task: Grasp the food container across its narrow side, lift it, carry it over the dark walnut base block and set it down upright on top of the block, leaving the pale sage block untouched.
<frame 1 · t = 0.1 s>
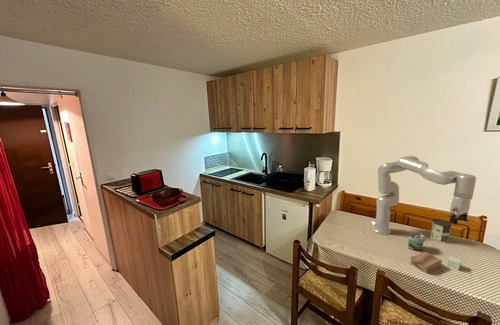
hand: (457, 221, 117), 31 cm above the table, fingers open, 9 cm apart
food container: (417, 249, 140), on the table
coffee can: (438, 238, 151), on the table
sage block: (453, 266, 123), on the table
walnut block: (425, 265, 124), on the table
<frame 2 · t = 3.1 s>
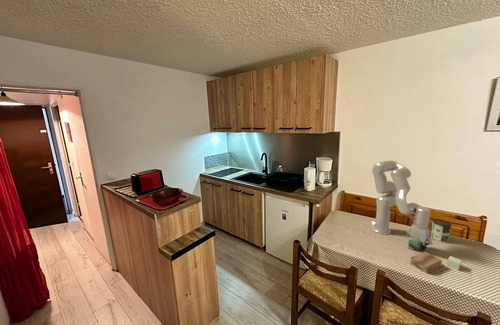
hand: (417, 246, 139), 2 cm above the table, fingers open, 6 cm apart
food container: (417, 249, 140), on the table, touching gripper
everything else where it was.
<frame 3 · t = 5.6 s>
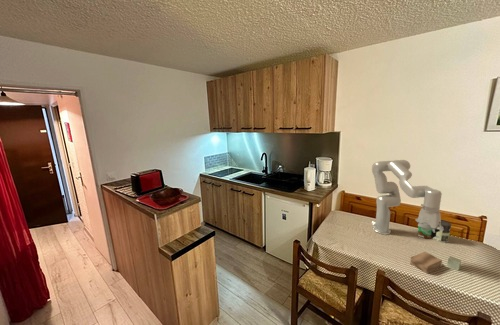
hand: (427, 234, 125), 19 cm above the table, fingers closed on food container, 5 cm apart
food container: (428, 237, 125), point 17 cm above the table, touching gripper
everything else where it was.
when the fingers open (9 cm above the table, at t = 8.1 s): food container drops 2 cm, resting on walnut block.
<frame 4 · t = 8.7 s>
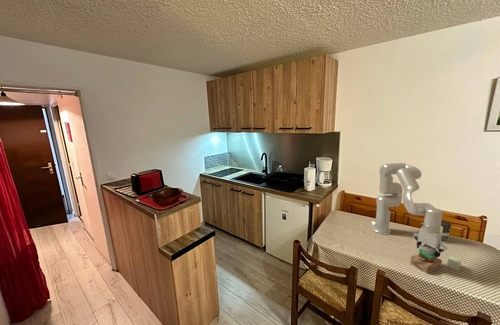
hand: (427, 252, 122), 10 cm above the table, fingers open, 9 cm apart
food container: (429, 260, 122), point 5 cm above the table, touching gripper, walnut block
everything else where it was.
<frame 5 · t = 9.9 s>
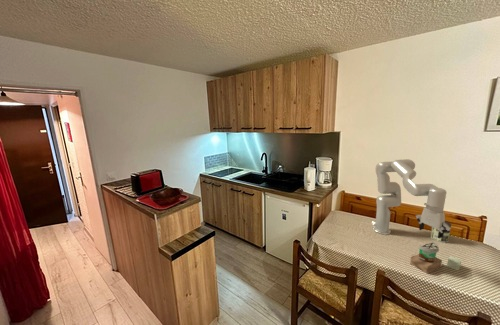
hand: (430, 233, 120), 23 cm above the table, fingers open, 9 cm apart
food container: (429, 260, 122), point 5 cm above the table, touching walnut block
everything else where it was.
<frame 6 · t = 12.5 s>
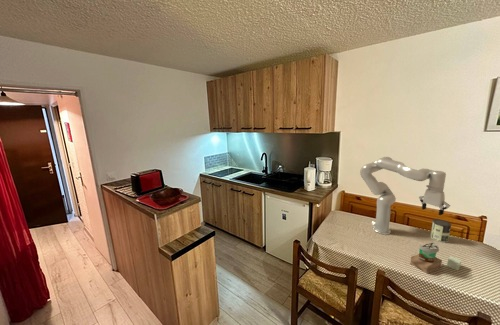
hand: (431, 211, 136), 28 cm above the table, fingers open, 9 cm apart
nothing on the table moved.
at the end: food container inside the target area on the walnut block (1.6 cm from its centre), point 4.8 cm above the walnut block's base; food container tilted 0°; the gripper is holding nothing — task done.
